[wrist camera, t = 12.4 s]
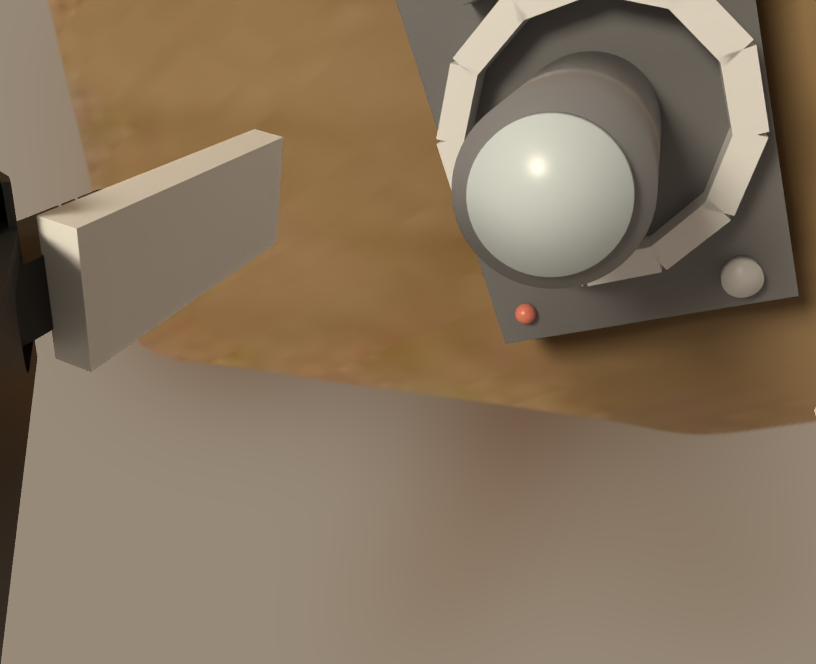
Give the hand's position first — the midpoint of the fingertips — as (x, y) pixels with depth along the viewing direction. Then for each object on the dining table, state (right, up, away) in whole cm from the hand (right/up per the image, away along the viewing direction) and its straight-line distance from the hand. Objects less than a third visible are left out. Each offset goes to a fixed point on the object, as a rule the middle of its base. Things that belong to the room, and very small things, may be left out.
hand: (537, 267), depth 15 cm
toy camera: (+6, +9, +17) cm, 20 cm away
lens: (+5, +7, +13) cm, 16 cm away
